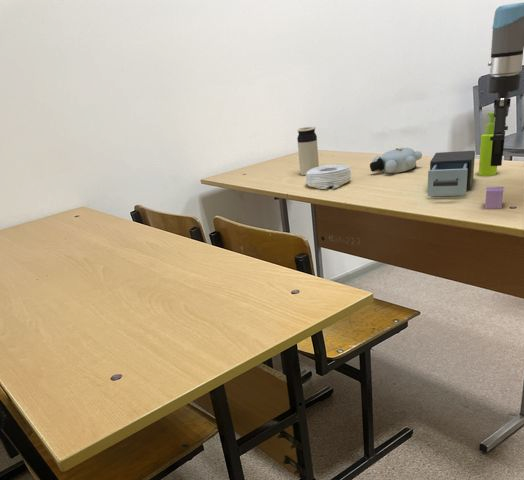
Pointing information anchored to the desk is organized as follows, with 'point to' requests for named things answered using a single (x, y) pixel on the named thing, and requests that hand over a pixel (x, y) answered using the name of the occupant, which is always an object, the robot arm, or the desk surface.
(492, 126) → the soap dispenser
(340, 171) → the cable
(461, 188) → the drawer
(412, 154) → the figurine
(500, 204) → the purple block
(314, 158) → the travel mug
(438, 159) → the small drawer cabinet
